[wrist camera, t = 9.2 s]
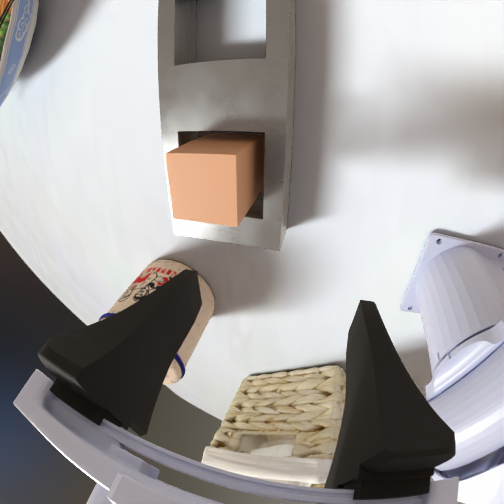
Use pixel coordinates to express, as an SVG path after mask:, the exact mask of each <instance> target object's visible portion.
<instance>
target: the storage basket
mask: <svg viewBox="0 0 504 504" xmlns="http://www.w3.org/2000/svg"><path fill="white" fill-rule="evenodd" d="M345 393H346V374H345V372H344V370H343V369H342V368H341V367H339V366H324V367H320V368H317V367H315V368H309V369H305V370H295V371H291V372H288V373H287V372H277V373H273V374H262V375H259V376H249V377H246V378H245V379H244V380H243V381H242V382H241V386H240V387H239V389H238V392H237V393H236V394H235V398H234V399H233V400H232V402H231V405H230V407H229V410H228V412H227V413H226V415H225V418H224V420H223V421H222V424H221V427H220V429H219V430H218V431H217V432H216V434H215V436H214V439H213V440H212V442H211V445H210V446H206V448H205V450H204V453H203V458H202V463H203V464H206V465H209V466H212V467H215V468H219V469H222V470H226V471H229V472H233V473H237V474H240V475H245V476H249V477H253V478H258V479H262V480H267V481H272V482H278V483H284V484H290V485H298V486H306V487H315V488H324V486H325V483H326V480H327V477H328V474H329V471H330V467H331V464H332V461H333V457H334V453H335V449H336V445H337V441H338V437H339V432H340V428H341V423H342V417H343V411H344V405H345ZM234 419H235V420H234Z"/></svg>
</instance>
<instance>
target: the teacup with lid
mask: <svg viewBox="0 0 504 504" xmlns="http://www.w3.org/2000/svg"><path fill="white" fill-rule="evenodd" d="M185 269H188V270H192V269H191V268H189V267H187V266H186V265H184V264H181V263H179V262H176V261H172V260H157V261H154V262H152V263H150V264H149V265H148V266H147V267H146V268H145V269H144V270H143V271H142V273H141V274H140V275H139V276H138V277H137V278H136V279H135V281H134V282H133V283H132V284H131V285H130V286H129V288H128V289H127V290H126V291H125V292H124V294H123V295H122V296H121V297H120V298H119V299H118V301H117V302H116V303H115V304H114V306H113V307H112V308H111V309H110V310H109V312H108V313H106V314H104V315H102V316H101V317H100V319H99V321H101V320H103V319H105V318H108V317H110V316H112V315H114V314H116V313H118V312H120V311H122V310H124V309H126V308H127V307H129V306H131V305H133V304H134V303H136V302H137V301H139V300H140V299H142V298H144V297H145V296H147V295H148V294H150V293H151V292H153V291H154V290H156V289H157V288H159V287H160V286H162V285H163V284H164V283H166V282H167V281H169V280H170V279H171V278H173V277H174V276H176V275H177V274H179V273H180V272H182V271H183V270H185ZM193 271H194V270H193ZM198 280H199V286H200V292H201V299H202V306H201V308H200V311H199V313H198V316H197V318H196V321H195V323H194V324H193V326H192V328H191V330H190V332H189V333H188V335H187V337H186V339H185V340H184V342H183V344H182V345H181V347H180V349H179V351H178V352H177V354H176V356H175V358H174V359H173V361H172V363H171V365H170V367H169V370H168V372H167V375H166V377H165V379H164V382H163V384H173V383H176V382H178V381H179V380H180V379H181V378H182V377H183V376H184V374H185V366H186V364H187V362H188V360H189V359H190V357H191V355H192V353H193V351H194V349H195V347H196V345H197V343H198V341H199V339H200V337H201V335H202V333H203V331H204V329H205V327H206V326H207V324H208V322H209V320H210V318H211V316H212V314H213V312H214V308H215V300H214V296H213V293H212V291H211V289H210V287H209V286H208V284H207V283H206V282H205V280H204V279H203V278H202V277H201V276H200V275H199V274H198Z"/></svg>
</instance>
